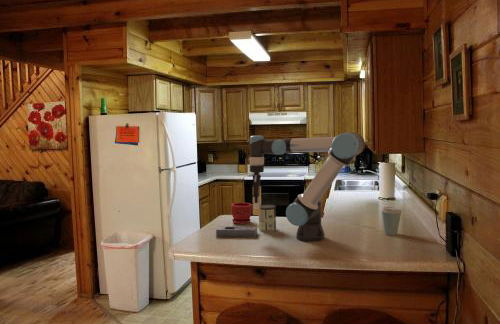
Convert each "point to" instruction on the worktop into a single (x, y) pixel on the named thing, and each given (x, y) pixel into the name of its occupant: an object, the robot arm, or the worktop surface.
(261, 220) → the coffee can
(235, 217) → the plant pot
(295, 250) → the worktop surface
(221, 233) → the grey flat block
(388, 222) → the disposable coffee cup
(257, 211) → the brass peg
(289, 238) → the worktop surface
